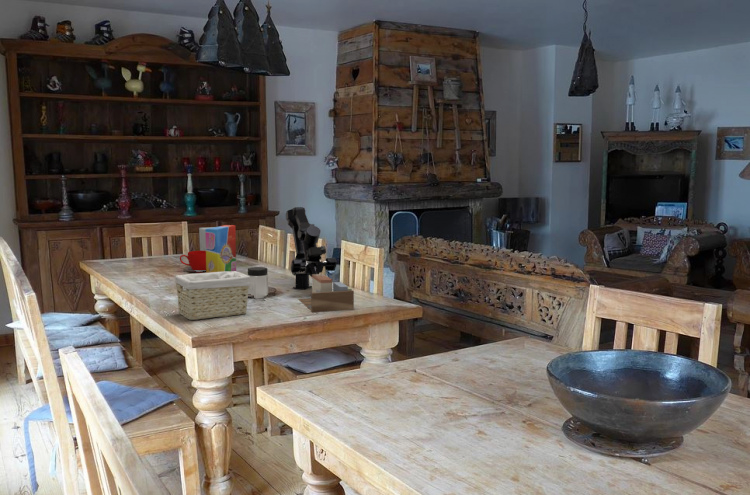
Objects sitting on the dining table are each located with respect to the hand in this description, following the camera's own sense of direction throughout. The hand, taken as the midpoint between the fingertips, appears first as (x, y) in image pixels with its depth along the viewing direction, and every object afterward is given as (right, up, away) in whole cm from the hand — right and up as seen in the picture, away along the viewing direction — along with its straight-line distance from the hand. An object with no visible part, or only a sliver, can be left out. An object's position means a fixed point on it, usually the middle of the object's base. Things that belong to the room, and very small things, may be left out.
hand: (317, 281), depth 270 cm
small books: (+11, -10, -14) cm, 20 cm away
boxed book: (+2, -8, -6) cm, 10 cm away
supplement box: (-72, +8, +121) cm, 141 cm away
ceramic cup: (-68, +1, +71) cm, 98 cm away
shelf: (+4, -9, -10) cm, 14 cm away
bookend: (+1, -9, -18) cm, 20 cm away
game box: (-46, -4, +30) cm, 55 cm away
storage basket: (-36, -11, -24) cm, 45 cm away
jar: (-26, -7, +8) cm, 28 cm away
